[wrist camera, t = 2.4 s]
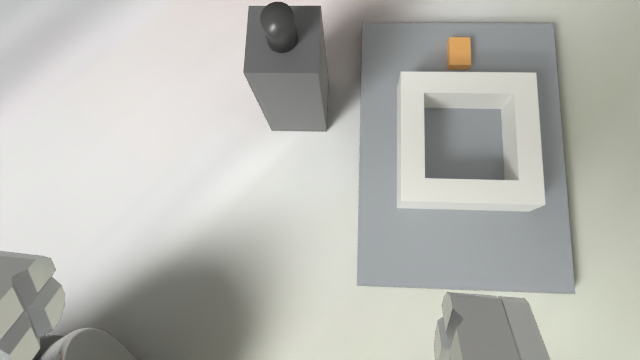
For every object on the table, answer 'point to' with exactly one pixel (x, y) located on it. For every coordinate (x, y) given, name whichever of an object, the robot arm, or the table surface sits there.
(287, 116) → the plug
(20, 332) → the robot arm
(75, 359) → the dark grey cylinder
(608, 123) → the table surface
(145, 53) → the table surface
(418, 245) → the socket
